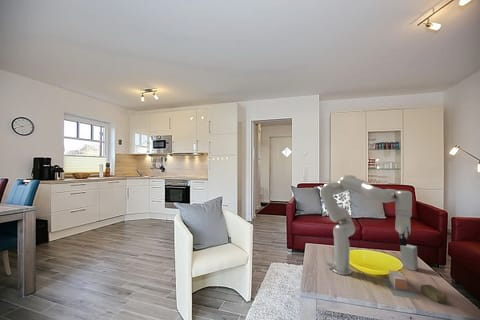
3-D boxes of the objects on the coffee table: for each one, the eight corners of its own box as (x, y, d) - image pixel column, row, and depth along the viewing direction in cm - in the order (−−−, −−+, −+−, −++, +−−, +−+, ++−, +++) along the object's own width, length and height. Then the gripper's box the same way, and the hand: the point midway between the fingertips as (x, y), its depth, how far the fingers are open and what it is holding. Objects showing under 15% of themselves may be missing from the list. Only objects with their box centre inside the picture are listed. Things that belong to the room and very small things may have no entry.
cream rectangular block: (395, 278, 135) (389, 270, 146) (394, 288, 135) (389, 279, 146) (407, 280, 134) (400, 271, 144) (407, 290, 134) (400, 281, 144)
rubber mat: (393, 295, 129) (393, 295, 129) (383, 278, 148) (383, 278, 148) (419, 300, 125) (419, 299, 125) (405, 282, 144) (405, 281, 144)
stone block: (437, 304, 122) (437, 294, 122) (419, 292, 133) (419, 283, 133) (448, 304, 122) (448, 294, 122) (429, 292, 133) (429, 283, 134)
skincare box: (418, 269, 162) (418, 246, 163) (414, 271, 158) (414, 248, 159) (404, 264, 169) (404, 242, 170) (399, 267, 165) (400, 244, 166)
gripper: (391, 209, 140) (391, 240, 140) (400, 214, 126) (399, 248, 126) (406, 210, 138) (405, 241, 138) (416, 216, 123) (416, 250, 123)
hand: (402, 245), depth 132 cm, fingers closed
